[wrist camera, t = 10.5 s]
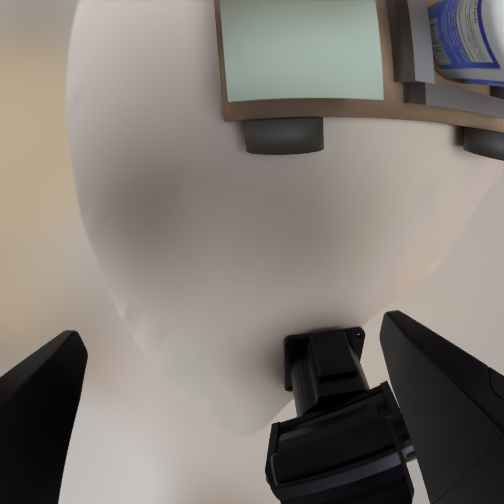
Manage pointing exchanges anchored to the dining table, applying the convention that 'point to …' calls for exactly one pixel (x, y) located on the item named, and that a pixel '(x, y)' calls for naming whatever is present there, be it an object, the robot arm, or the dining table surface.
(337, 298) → the dining table surface
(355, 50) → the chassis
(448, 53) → the pill bottle
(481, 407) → the robot arm
